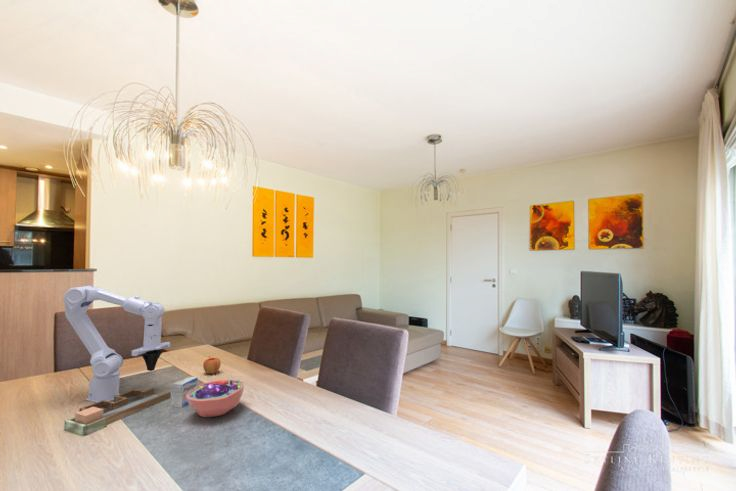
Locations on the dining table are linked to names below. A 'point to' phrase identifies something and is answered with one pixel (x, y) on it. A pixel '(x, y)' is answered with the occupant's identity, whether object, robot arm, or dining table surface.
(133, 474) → the dining table surface
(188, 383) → the medicine box
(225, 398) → the cell model
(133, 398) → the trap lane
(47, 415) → the dining table surface
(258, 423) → the dining table surface
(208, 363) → the apple
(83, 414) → the block
